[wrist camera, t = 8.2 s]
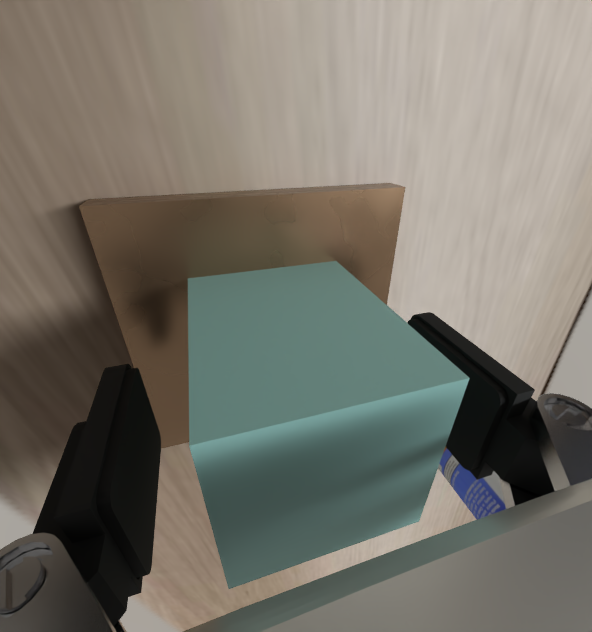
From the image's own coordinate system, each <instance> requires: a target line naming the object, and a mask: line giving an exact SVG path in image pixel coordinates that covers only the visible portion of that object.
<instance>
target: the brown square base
mask: <svg viewBox="0 0 592 632" xmlns="http://www.w3.org/2000/svg"><path fill="white" fill-rule="evenodd" d="M404 192H405V187H403V186H399V185H395V184H392V183H382V184H363V185H345V186H326V187H308V188H290V189H271V190H253V191H234V192H216V193H198V194H179V195H161V196H142V197H124V198H105V199H88V200H87V201H85V202H84V203H83V204H81V205H80V206H79V208H80V211H81V214H82V217H83V220H84V223H85V226H86V229H87V232H88V235H89V238H90V241H91V243H92V246H93V249H94V252H95V255H96V258H97V261H98V264H99V267H100V270H101V273H102V276H103V279H104V282H105V285H106V287H107V290H108V293H109V296H110V299H111V302H112V305H113V308H114V311H115V314H116V317H117V320H118V323H119V326H120V328H121V331H122V334H123V337H124V340H125V343H126V346H127V349H128V352H129V355H130V358H131V361H132V364H133V367H134V368H138V369H139V371H140V374H141V377H142V380H143V383H144V386H145V389H146V392H147V395H148V398H149V401H150V404H151V407H152V410H153V413H154V416H155V419H156V422H157V425H158V428H159V431H160V436H161V448H165V447H169V446H174V445H178V444H182V443H186V442H189V357H188V278H196V277H205V276H213V275H221V274H230V273H238V272H247V271H255V270H264V269H272V268H280V267H289V266H297V265H306V264H314V263H322V262H331V261H337V262H338V263H339V264H340V265H341V266H343V267H344V268H345V269H346V270H347V271H348V272H349V273H351V274H352V275H353V276H354V277H355V278H356V279H357V280H359V281H360V282H361V283H362V284H363V285H364V286H365V287H367V288H368V289H369V290H370V291H371V292H372V293H373V294H375V295H376V296H377V297H378V298H379V299H380V300H381V301H382V302H384V303H385V304H386V305H387V299H388V293H389V286H390V280H391V274H392V267H393V261H394V255H395V248H396V242H397V236H398V230H399V223H400V217H401V211H402V204H403V198H404Z"/></svg>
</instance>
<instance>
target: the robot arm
mask: <svg viewBox="0 0 592 632" xmlns="http://www.w3.org/2000/svg"><path fill="white" fill-rule="evenodd" d="M408 324H409V325H410V326H411V327H412V328H413V329H414V330H416V331H417V332H418V333H419V334H420V335H421V336H422V337H423V338H425V339H426V340H427V341H428V342H429V343H430V344H431V345H433V346H434V347H435V348H436V349H437V350H438V351H439V352H441V353H442V354H443V355H444V356H445V357H446V358H447V359H449V360H450V361H451V362H452V363H453V364H454V365H455V366H457V367H458V368H459V369H460V370H461V371H462V372H463V373H464V374H466V375H467V376H468V377H469V378H470V379H469V381H468V384H467V387H466V390H465V393H464V396H463V398H462V401H461V404H460V407H459V410H458V412H457V415H456V418H455V421H454V424H453V427H452V429H451V432H450V435H449V438H448V441H447V443H446V448H447V449H448V450H449V451H450V452H451V454H452V455H453V456H454V457H455V459H456V460H457V461H458V462H459V464H460V465H461V466H462V467H463V468H464V469H466V470H469V471H470V472H471V473H472V474H473V476H474V477H475V478H476V479H477V480H478V479H481V478H484V477H487V476H490V475H492V473H493V471H495V473H496V474H497V475H498V476H499V479H500V484H501V488H502V493H503V498H504V502H505V507H506V509H505V510H502V511H500V512H497V513H494V514H491V515H489V516H486V517H483V518H481V519H478V520H475V521H472V522H470V523H467V524H464V525H462V526H459V527H456V528H454V529H451V530H448V531H445V532H443V533H440V534H437V535H435V536H432V537H429V538H427V539H424V540H421V541H419V542H416V543H413V544H411V545H408V546H405V547H403V548H400V549H397V550H394V551H392V552H389V553H386V554H384V555H381V556H378V557H376V558H373V559H370V560H368V561H365V562H362V563H360V564H357V565H354V566H352V567H349V568H346V569H344V570H341V571H339V572H336V573H333V574H331V575H328V576H325V577H323V578H320V579H317V580H315V581H312V582H310V583H307V584H304V585H302V586H299V587H296V588H294V589H291V590H288V591H286V592H283V593H281V594H278V595H275V596H273V597H270V598H267V599H265V600H262V601H259V602H257V603H254V604H252V605H249V606H246V607H244V608H241V609H239V610H236V611H234V612H231V613H229V614H226V615H224V616H221V617H219V618H216V619H214V620H211V621H209V622H206V623H204V624H201V625H199V626H196V627H194V628H191V629H189V630H186V631H184V632H592V409H591V408H590V407H589V406H587V405H585V404H584V403H582V402H580V401H578V400H576V399H573V398H571V397H567V396H564V395H560V394H551V393H550V394H543V395H541V396H540V397H539V398H538V400H537V402H536V401H535V400H534V399H532V398H531V396H532V394H533V392H534V389H533V388H532V387H530V386H529V385H528V384H526V383H525V382H524V381H522V380H521V379H520V378H518V377H517V376H516V375H514V374H513V373H512V372H510V371H509V370H508V369H506V368H505V367H504V366H502V365H501V364H500V363H498V362H497V361H496V360H494V359H493V358H492V357H490V356H489V355H488V354H486V353H485V352H484V351H482V350H481V349H480V348H478V347H477V346H476V345H474V344H473V343H472V342H470V341H469V340H468V339H466V338H465V337H464V336H462V335H461V334H460V333H458V332H457V331H456V330H454V329H453V328H452V327H450V326H449V325H448V324H446V323H445V322H444V321H442V320H441V319H440V318H438V317H437V316H435V315H434V314H433V313H429V312H428V313H422V314H416V315H414V316H412V318H411V320H409V321H408ZM160 453H161V436H160V431H159V428H158V425H157V422H156V419H155V416H154V413H153V410H152V407H151V404H150V401H149V398H148V395H147V392H146V389H145V386H144V383H143V380H142V377H141V374H140V371H139V369H138V368H133V369H132V368H131V366H130V365H129V364H125V365H119V366H114V367H108V368H105V370H104V372H103V375H102V378H101V381H100V383H99V386H98V389H97V392H96V395H95V398H94V401H93V404H92V407H91V410H90V413H89V416H88V419H87V421H85V422H80V423H77V424H76V425H75V426H74V428H73V430H72V432H71V434H70V437H69V439H68V442H67V445H66V447H65V450H64V453H63V455H62V458H61V461H60V463H59V466H58V468H57V471H56V474H55V476H54V479H53V482H52V484H51V487H50V489H49V492H48V495H47V497H46V500H45V503H44V505H43V508H42V511H41V513H40V516H39V518H38V521H37V524H36V526H35V529H34V532H33V534H30V535H28V536H25V537H23V538H20V539H17V540H15V541H14V542H12V543H10V544H9V545H7V546H5V547H4V548H2V549H1V550H0V632H126V630H125V628H124V627H123V625H122V623H121V622H120V618H121V617H122V616H123V614H124V613H125V611H126V609H127V602H128V597H130V596H133V595H135V594H138V593H141V588H142V578H143V576H145V575H148V574H149V573H150V571H151V565H152V553H153V541H154V528H155V516H156V503H157V490H158V478H159V465H160Z"/></svg>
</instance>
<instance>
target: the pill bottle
mask: <svg viewBox="0 0 592 632" xmlns="http://www.w3.org/2000/svg"><path fill="white" fill-rule="evenodd" d="M438 469H439V470H440V471H441V473H442V474H443V475H444V477H445V478H446V479H447V481H448V482H449V483H450V485H451V486H452V487H453V489H454V490H455V491H456V493H457V494H458V495H459V497H460V498H461V499H462V501H463V502H464V503H465V504H466V506H467V507H468V508H469V510H470V511H471V512H472V514H473V515H474V516H475V518H476V519H477V520H478V519H481V518H483V517H486V516H489V515H491V514H494V513H497V512H500V511H502V510H505V509H506V507H505V502H504V498H503V493H502V488H501V484H500V479H499V476H498V475H497V474H496V473H495V471H493V473H492V475H490V476H487V477H484V478H481V479H478V480H477V479H476V478H475V477H474V476H473V474H472V473H471V472H470V471H469V470H466V469H464V468H463V467H462V466H461V465H460V464H459V462H458V461H457V460H456V459H455V457H454V456H453V455H452V454H451V452H450V451H449V450H448V449H447V448H446V446H445V449H444V452H443V455H442V458H441V460H440V463H439V466H438Z"/></svg>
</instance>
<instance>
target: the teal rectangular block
mask: <svg viewBox="0 0 592 632" xmlns="http://www.w3.org/2000/svg"><path fill="white" fill-rule="evenodd" d="M188 357H189V446H190V450H191V454H192V457H193V461H194V464H195V468H196V472H197V475H198V479H199V483H200V486H201V490H202V494H203V497H204V501H205V504H206V508H207V512H208V515H209V519H210V523H211V526H212V530H213V533H214V537H215V541H216V544H217V548H218V552H219V555H220V559H221V563H222V566H223V570H224V573H225V577H226V581H227V584H228V588H229V589H231V588H233V587H236V586H239V585H242V584H245V583H247V582H250V581H253V580H256V579H259V578H261V577H264V576H267V575H270V574H273V573H275V572H278V571H281V570H284V569H287V568H289V567H292V566H295V565H298V564H301V563H303V562H306V561H309V560H312V559H315V558H317V557H320V556H323V555H326V554H329V553H332V552H334V551H337V550H340V549H343V548H346V547H348V546H351V545H354V544H357V543H360V542H362V541H365V540H368V539H371V538H374V537H376V536H379V535H382V534H385V533H388V532H390V531H393V530H396V529H399V528H402V527H404V526H407V525H410V524H413V523H416V522H418V521H419V520H420V517H421V514H422V511H423V508H424V505H425V503H426V500H427V497H428V494H429V491H430V489H431V486H432V483H433V480H434V477H435V474H436V472H437V469H438V466H439V463H440V460H441V458H442V455H443V452H444V449H445V446H446V443H447V441H448V438H449V435H450V432H451V429H452V427H453V424H454V421H455V418H456V415H457V412H458V410H459V407H460V404H461V401H462V398H463V396H464V393H465V390H466V387H467V384H468V381H469V379H470V378H469V377H468V376H467V375H466V374H464V373H463V372H462V371H461V370H460V369H459V368H458V367H457V366H455V365H454V364H453V363H452V362H451V361H450V360H449V359H447V358H446V357H445V356H444V355H443V354H442V353H441V352H439V351H438V350H437V349H436V348H435V347H434V346H433V345H431V344H430V343H429V342H428V341H427V340H426V339H425V338H423V337H422V336H421V335H420V334H419V333H418V332H417V331H416V330H414V329H413V328H412V327H411V326H410V325H409V324H408V323H406V322H405V321H404V320H403V319H402V318H401V317H400V316H398V315H397V314H396V313H395V312H394V311H393V310H392V309H390V308H389V307H388V306H387V305H386V304H385V303H384V302H382V301H381V300H380V299H379V298H378V297H377V296H376V295H375V294H373V293H372V292H371V291H370V290H369V289H368V288H367V287H365V286H364V285H363V284H362V283H361V282H360V281H359V280H357V279H356V278H355V277H354V276H353V275H352V274H351V273H349V272H348V271H347V270H346V269H345V268H344V267H343V266H341V265H340V264H339V263H338V262H337V261H331V262H322V263H314V264H306V265H297V266H289V267H280V268H272V269H264V270H255V271H247V272H238V273H230V274H221V275H213V276H205V277H196V278H188Z"/></svg>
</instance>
